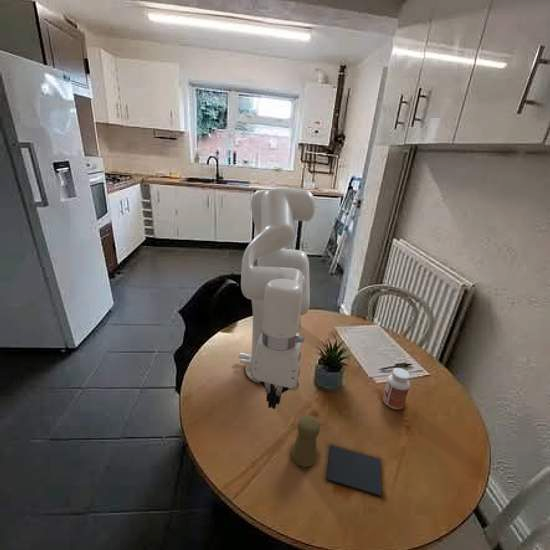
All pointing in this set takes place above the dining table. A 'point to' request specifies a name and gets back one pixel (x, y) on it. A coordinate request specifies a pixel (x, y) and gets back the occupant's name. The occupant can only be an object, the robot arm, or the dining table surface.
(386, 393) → the pill bottle
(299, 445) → the olive green waisted cylinder
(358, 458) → the mat
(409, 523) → the dining table surface
